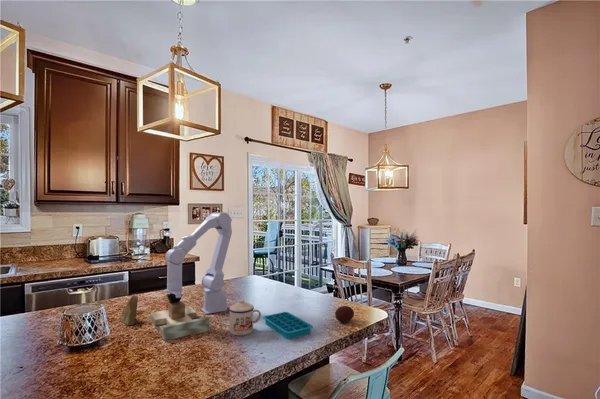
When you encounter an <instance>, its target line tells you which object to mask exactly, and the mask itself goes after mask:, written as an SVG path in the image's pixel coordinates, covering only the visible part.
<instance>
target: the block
mask: <svg viewBox="0 0 600 399" xmlns="http://www.w3.org/2000/svg"><path fill="white" fill-rule="evenodd" d="M185 307H186V303H184V302H183V301H180V302H176V303H169V304H168V310H169V317H170V318H171V319H172V320H173V319H178V318H183V317H185Z"/></svg>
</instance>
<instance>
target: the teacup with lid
mask: <svg viewBox="0 0 600 399" xmlns="http://www.w3.org/2000/svg"><path fill="white" fill-rule="evenodd" d="M228 310H229V333H230V334H231V335H232V336H246V335H250V334H251V333H252V332H253V331H254V324H257V323H258V322H259V321H260V320H261V317H262V313H261V311H260V310H259V309H255V307H254V305H253V304H251V303H248V302H247V301H245V299H243V298H242V299H239V300H238V302H236V303H234V304H231V305H230V307H229V308H228ZM255 312H257V313H258V316H257V318H256V320H254V313H255Z"/></svg>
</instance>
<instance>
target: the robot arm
mask: <svg viewBox="0 0 600 399" xmlns="http://www.w3.org/2000/svg"><path fill="white" fill-rule="evenodd" d="M232 221H233V219H232V218H231V215H230V214H229V213H228V212H216V211H214V212H211V213H210V214H209V215H208V216H206V217H205V218H204V220H203V221H202V223H201V224H199V226H198V227H196V229H195V230H194V231H193V232H192V233H191V234H190V235H189V234H188V235H186V236H182V237H181V240H180V241H179V242H178V243H177V244H175V245H173V248H171V249H168V251H166V254H165V255H164V259H165V261H166V262H167V266H166V267H167V268H166V270H167V271H166V273H167V275H166V278H167V279H166V289H164V290H163V292H164V293H167V294H166V298H167V299H168V302H169V303H176V302H181V299H182V298H183V294H182V292H183V262H184V260H185V258H186V256H187V254H189V253H190V252H191V251H192V250H193V249H194V248H195V246H197V241H198V240H199V239H200V238H201V237H202V236H203V235H204V234H206V233H207V232H208V231H210V229H216V231H217V232H218V237H217V241H216V245H215V248H214V252H213V256H212V259H211V263H210V266H209V267H208V269H206V271H205V274H204V275H203V276H202V278H201V285H202V287H203V289H204V291H203V297H204V298H203V307H202V308H200V310H201V311H203V313H205V314H206V315H210V314H213V313H219V312H225V311H227V310H228V307H227V303H228V302H227V301H228V300H227V298H228V297H227V296H228V295H227V292H226V289H224V285H225V284H224V283H225V282H224V278H225V274H224V272H223V268H224V264H225V260H226V256H227V252H228V248H229V245H230V241H231V237H232V234H233V230H232Z"/></svg>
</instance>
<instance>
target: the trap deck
mask: <svg viewBox="0 0 600 399" xmlns="http://www.w3.org/2000/svg"><path fill="white" fill-rule="evenodd" d="M149 315H150V316H149V317H150V318H149V319H150V321H151V323H152V324H153V325H154V327H155V328H156V331H157V332H158V333H159V335H160V336H161V338H162V339H163V341H168V340H173V339H177V338H182V337H187V336H189V335H190V336H191V335H195V334H200V333H205V332H208V331H210V317H209V316H206V317H200V318H197V311H195V310H194V309H193V307H191V306H190V305H189V306H185V317H183V318H178V319H173V320H172V319H171V318H170V317H169V309H167V310H160V311H154V312H150V314H149Z"/></svg>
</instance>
